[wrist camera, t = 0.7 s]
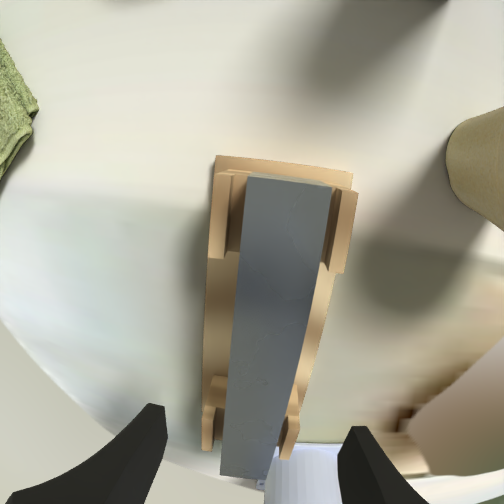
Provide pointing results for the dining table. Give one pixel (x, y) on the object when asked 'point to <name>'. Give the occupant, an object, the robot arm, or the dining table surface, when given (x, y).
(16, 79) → the washcloth
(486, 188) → the flower pot
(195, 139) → the dining table surface
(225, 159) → the tan piece
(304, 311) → the rail
